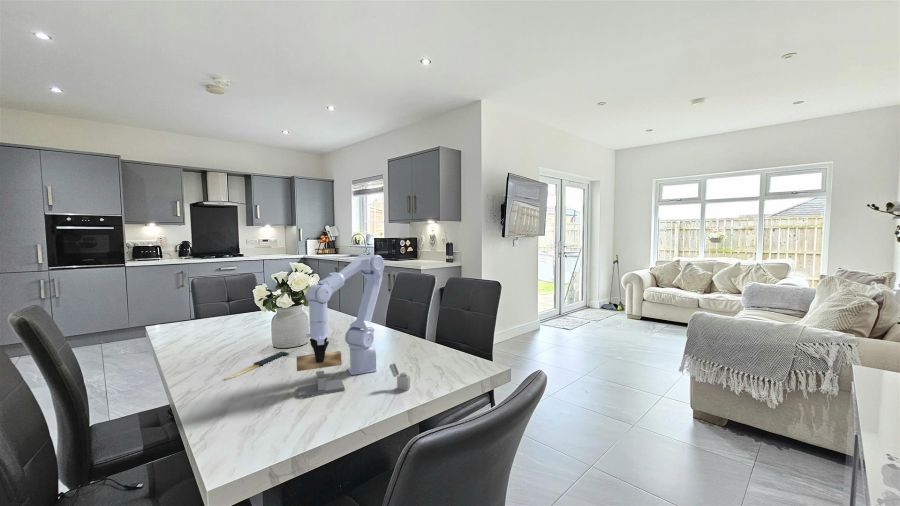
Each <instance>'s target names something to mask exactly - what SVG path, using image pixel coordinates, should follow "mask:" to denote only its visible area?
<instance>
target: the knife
mask: <svg viewBox="0 0 900 506" xmlns="http://www.w3.org/2000/svg"><path fill="white" fill-rule="evenodd" d="M289 353H290V352H287V351H280V352H277V353H276V354H273V355H271V356H268V357H266V358H263V359H261V360H259V361H256V362H253V364H252V365H249V366H247V367H245V368H243V369H241V370H237V371H236V372H233V373H230V374H229V375H227V376H225V377H224V381H227V379H228V380H230V379H233V378H236V376H237V377H239V376H240V375H241V376H242V375H243V374H246V373H248V372H250V371H252V369H253V370H254V369H257V368H259V367H260V366H262V367H264V366H265V365H267V364H269V363H272V362H274V361H276V360H279V359H280V358H282V356H283V357H287V356H289V355H290V354H289ZM275 359H276V360H275ZM273 360H274V361H273ZM268 362H269V363H268ZM266 363H267V364H266ZM264 364H265V365H264ZM263 365H264V366H263ZM247 371H248V372H247ZM245 372H246V373H245Z"/></svg>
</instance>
